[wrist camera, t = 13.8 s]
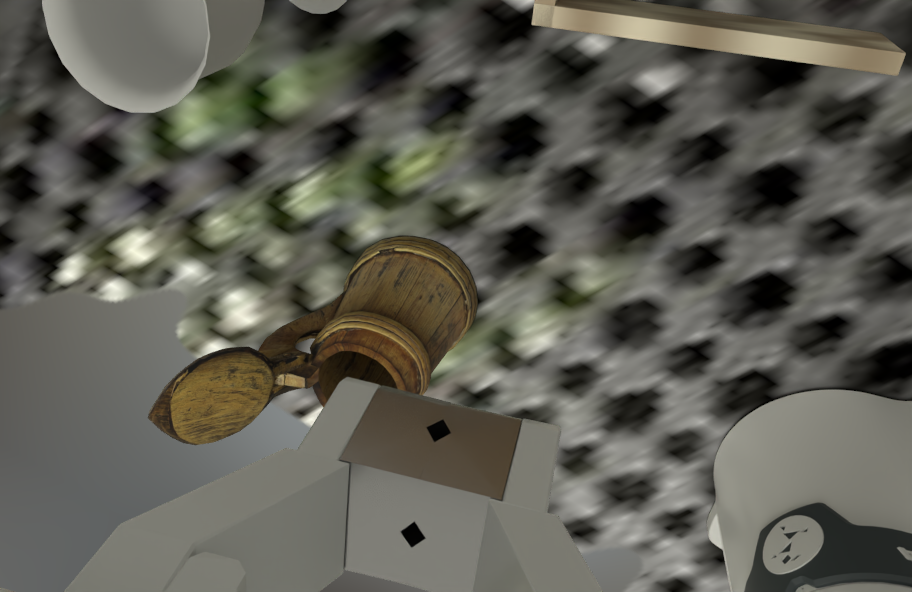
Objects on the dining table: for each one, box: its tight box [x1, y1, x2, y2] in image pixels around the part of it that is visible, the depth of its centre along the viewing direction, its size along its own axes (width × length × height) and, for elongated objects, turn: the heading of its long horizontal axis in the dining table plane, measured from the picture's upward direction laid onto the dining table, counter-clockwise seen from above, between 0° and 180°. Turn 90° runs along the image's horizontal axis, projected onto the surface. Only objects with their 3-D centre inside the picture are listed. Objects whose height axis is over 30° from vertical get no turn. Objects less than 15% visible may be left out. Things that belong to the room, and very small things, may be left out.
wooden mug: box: [148, 236, 478, 445], centre depth 46 cm, size 9×14×18 cm, turn 81°
